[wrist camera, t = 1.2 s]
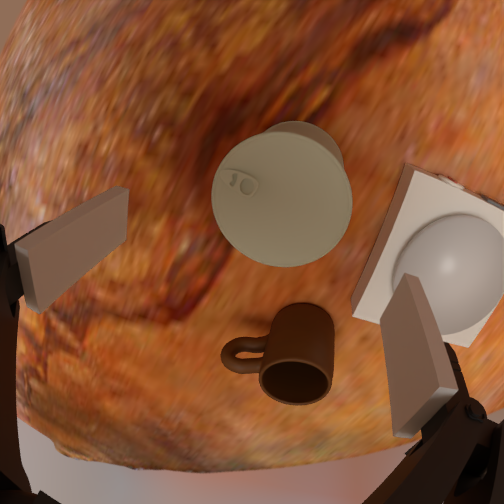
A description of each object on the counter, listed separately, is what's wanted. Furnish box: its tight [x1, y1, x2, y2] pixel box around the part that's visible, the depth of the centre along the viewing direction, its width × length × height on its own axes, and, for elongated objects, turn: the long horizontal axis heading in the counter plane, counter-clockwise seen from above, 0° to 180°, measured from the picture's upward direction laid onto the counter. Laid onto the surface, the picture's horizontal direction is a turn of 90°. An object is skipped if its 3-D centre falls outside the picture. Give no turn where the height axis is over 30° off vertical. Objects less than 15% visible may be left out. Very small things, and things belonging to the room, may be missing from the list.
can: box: [212, 121, 352, 267], centre depth 25 cm, size 9×9×12 cm
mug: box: [221, 304, 335, 405], centre depth 35 cm, size 12×8×9 cm, turn 84°
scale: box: [351, 163, 504, 348], centre depth 28 cm, size 16×16×5 cm
